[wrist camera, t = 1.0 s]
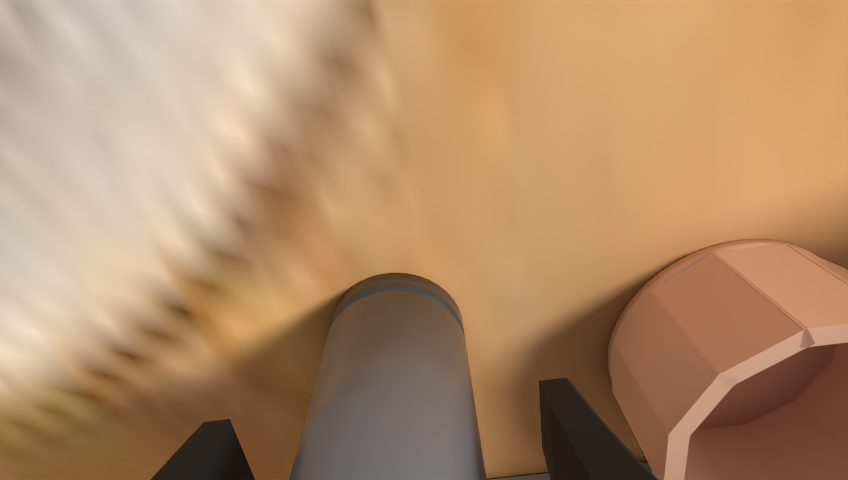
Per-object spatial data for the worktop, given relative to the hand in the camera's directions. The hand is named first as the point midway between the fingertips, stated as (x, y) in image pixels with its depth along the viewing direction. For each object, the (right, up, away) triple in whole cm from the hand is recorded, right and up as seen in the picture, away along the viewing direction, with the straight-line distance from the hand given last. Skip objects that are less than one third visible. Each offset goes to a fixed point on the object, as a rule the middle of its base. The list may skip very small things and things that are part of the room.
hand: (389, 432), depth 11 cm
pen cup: (+10, +1, +4) cm, 11 cm away
